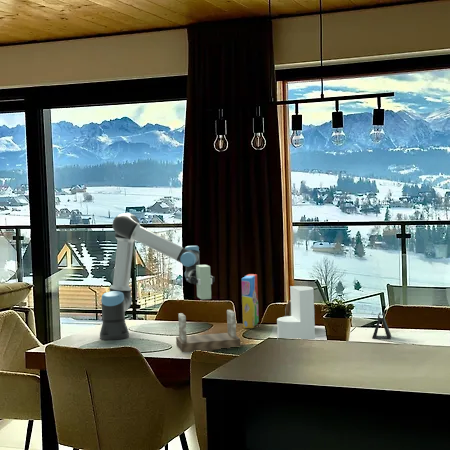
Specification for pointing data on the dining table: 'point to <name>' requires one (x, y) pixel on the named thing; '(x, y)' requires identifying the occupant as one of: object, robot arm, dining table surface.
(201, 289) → the book
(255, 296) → the game box
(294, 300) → the white l-shaped block
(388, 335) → the phone stand
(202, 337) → the marble base with posts
